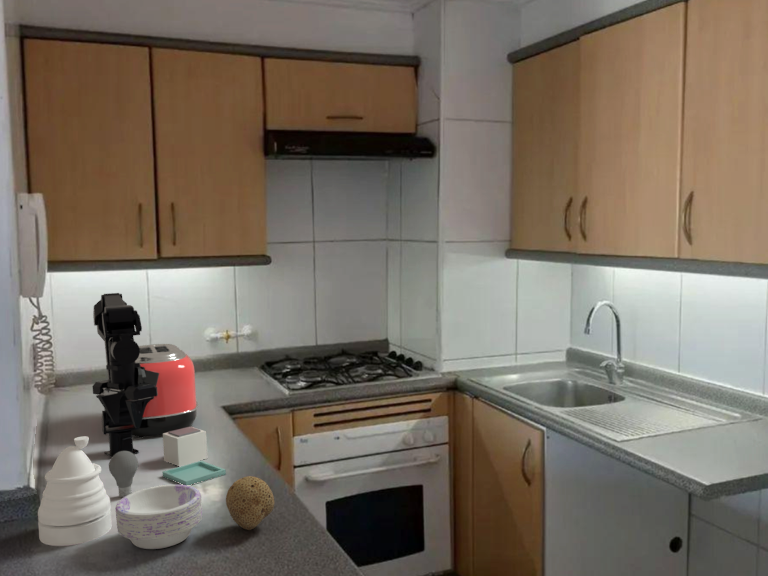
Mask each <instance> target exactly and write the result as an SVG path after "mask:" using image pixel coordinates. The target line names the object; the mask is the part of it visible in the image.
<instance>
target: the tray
mask: <svg viewBox="0 0 768 576" xmlns="http://www.w3.org/2000/svg"><path fill="white" fill-rule="evenodd" d="M226 470H227V469H225V468H223V467H220V466H217V465H215V464H213V463H209V462H206V461H205V460H201V461H198V462H194V463H191V464H187V465H184V466H181V467H178V466H176V467H174V468H170V469H167V470H163V471H162V477H163V478H165V477H166V478H165V479H167V478H168V479H167V480H169V479H171V480H170V481H172V480H174V481H176V482H179V483H181V484H183V485H191V484H194V483H197V482H200V483H202V482H201V481H203V482H206V481H205V480H207V481H209V480H208V479H210V480H212V479H211V478H213V479H216V478H219V477H222V476H221V475H223V476H226V475H225V474H227V472H226ZM218 476H219V477H218ZM215 477H216V478H215ZM174 481H173V482H174ZM176 482H175V483H176ZM179 483H178V484H179ZM181 484H180V485H181ZM197 484H198V483H197ZM194 485H195V484H194ZM191 486H192V485H191Z"/></svg>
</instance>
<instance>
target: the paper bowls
mask: <svg viewBox="0 0 768 576" xmlns="http://www.w3.org/2000/svg"><path fill="white" fill-rule="evenodd" d="M115 519H116V527H117V528H116V529H117V532H118V534H119V536H120V535H121V536H120V537H123V538H125V539H129V540H130V542H131V543H132V544H133V545H134V546H136V547H137V548H140V549H145V550H156V549H157V550H158V549H164V548H169V547H172V546H175V545H177V544H180V543H181V542H183V541H185V540H186V539H187V538H188V537H189V536H190V534H191V532H192V529H193V528H195V527H196V526H198V525H199V524H200V522H201V521H202V519H203V503H202V493H201V491H200V490H199V489H197V488H196V487H194V486H192V485H191V486H187V485H181V484H164V485H156V486H151V487H146V488H143V489H139V490H136V491H133V492H132V493H131V494H129V495H127V496H125V497H122V498H121V499H119V501H118V502H117V503H116V505H115Z"/></svg>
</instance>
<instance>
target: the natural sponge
mask: <svg viewBox="0 0 768 576" xmlns="http://www.w3.org/2000/svg"><path fill="white" fill-rule="evenodd" d="M274 497H275V496H274V494H273V491H272V489H271V488H270V485H268V483H267V482H266V481H264V480H263V479H261V478H259V477H256V476H252V475H249V476H247V475H246V476H244V477H241V478H239V479H237V480H236V481H234V482H233V483H232V484H231V486H229V488H228V490H227V491H226V496H225V504H226V508H227V510H228V512H229V515H230V516H231V518H232V520H233V521H234V523H236V524H237V525H238V526H239V527H241V528H242V529H244V530H247V531H251V530H253V529H255V528H256V527H257V526H258V525H259V524H260V523H261V522H263V520H264V519H265V518H267V517H268V516H269V515H270V514H271V513H272V512H273V510H274V508H275V498H274Z"/></svg>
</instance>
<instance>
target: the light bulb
mask: <svg viewBox="0 0 768 576" xmlns="http://www.w3.org/2000/svg"><path fill="white" fill-rule="evenodd" d="M138 468H139V460H138V458H137V456H136V455H135V454H133V453H131V452H129V451H120V452H118V453H116V454H115V455H114V456H113V457H110V460H109V463H108V469H109V473H110V474H111V475H112V477H113V478H114V480H115V482H116V486H117V487H118V496H119V497H122V498H124V497H125V496H127V495H129V494H131V493H133V491H132V485H133V479H134V476H135V474H136V472H137V470H138Z"/></svg>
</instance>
